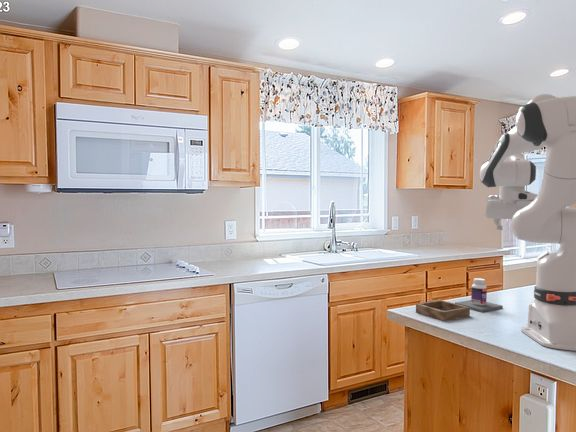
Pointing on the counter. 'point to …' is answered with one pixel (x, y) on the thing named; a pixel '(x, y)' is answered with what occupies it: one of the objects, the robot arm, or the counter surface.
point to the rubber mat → (480, 308)
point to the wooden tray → (451, 313)
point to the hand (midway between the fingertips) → (511, 231)
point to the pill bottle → (479, 292)
